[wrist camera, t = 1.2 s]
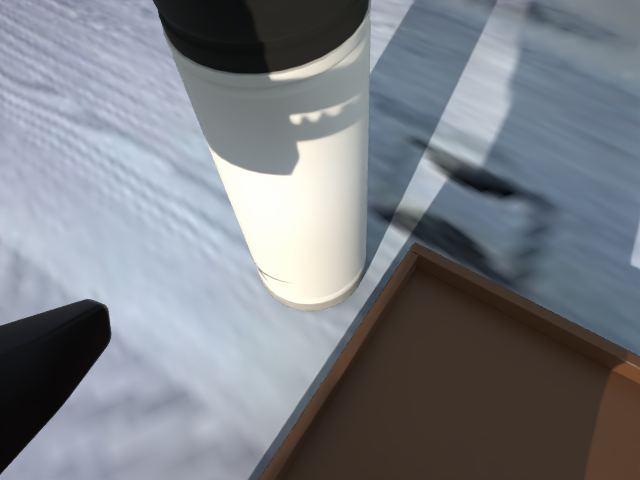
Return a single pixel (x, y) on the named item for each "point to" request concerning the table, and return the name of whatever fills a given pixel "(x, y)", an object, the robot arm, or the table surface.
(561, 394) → the serving tray
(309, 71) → the travel mug
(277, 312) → the table surface
